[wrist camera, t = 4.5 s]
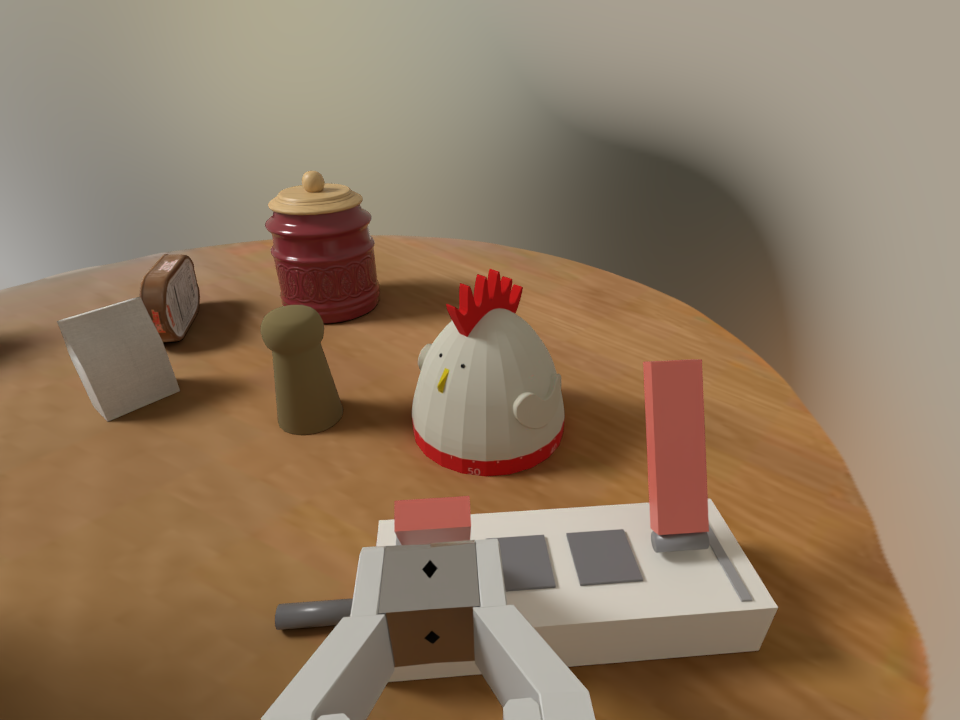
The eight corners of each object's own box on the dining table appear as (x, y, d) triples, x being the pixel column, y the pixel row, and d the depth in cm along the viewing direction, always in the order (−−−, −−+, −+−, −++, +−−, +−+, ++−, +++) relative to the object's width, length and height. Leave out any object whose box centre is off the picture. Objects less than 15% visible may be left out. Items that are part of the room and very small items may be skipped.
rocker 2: (659, 555, 30) (651, 362, 30) (651, 548, 32) (643, 361, 31) (709, 552, 30) (701, 359, 30) (699, 544, 32) (691, 359, 32)
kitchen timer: (382, 427, 49) (363, 275, 41) (483, 369, 57) (482, 235, 50) (494, 502, 41) (496, 329, 33) (592, 422, 49) (611, 270, 42)
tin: (184, 303, 73) (165, 245, 69) (208, 301, 74) (191, 243, 69) (152, 356, 61) (126, 288, 56) (181, 353, 61) (158, 285, 57)
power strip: (262, 692, 29) (244, 647, 26) (295, 568, 35) (283, 524, 33) (758, 650, 30) (779, 605, 28) (698, 539, 37) (711, 496, 35)
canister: (391, 288, 77) (379, 161, 68) (364, 328, 66) (345, 183, 57) (307, 284, 79) (283, 160, 70) (266, 323, 68) (232, 181, 59)
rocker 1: (415, 572, 30) (394, 531, 20) (415, 550, 31) (394, 500, 21) (467, 568, 30) (471, 526, 21) (466, 546, 31) (469, 496, 21)
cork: (354, 418, 50) (337, 313, 44) (291, 443, 47) (264, 334, 41) (328, 390, 54) (309, 291, 48) (269, 411, 51) (242, 308, 45)
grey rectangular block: (180, 390, 54) (148, 302, 49) (107, 421, 50) (64, 328, 45) (164, 378, 56) (132, 292, 51) (93, 407, 52) (51, 315, 47)
